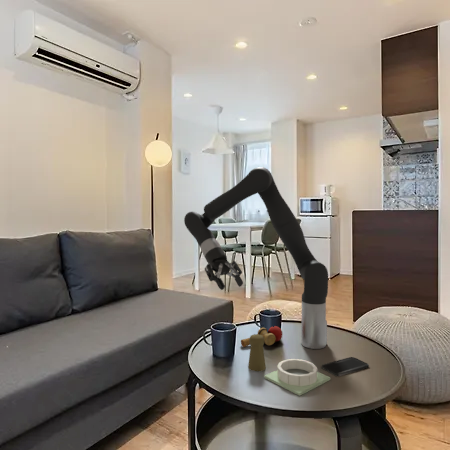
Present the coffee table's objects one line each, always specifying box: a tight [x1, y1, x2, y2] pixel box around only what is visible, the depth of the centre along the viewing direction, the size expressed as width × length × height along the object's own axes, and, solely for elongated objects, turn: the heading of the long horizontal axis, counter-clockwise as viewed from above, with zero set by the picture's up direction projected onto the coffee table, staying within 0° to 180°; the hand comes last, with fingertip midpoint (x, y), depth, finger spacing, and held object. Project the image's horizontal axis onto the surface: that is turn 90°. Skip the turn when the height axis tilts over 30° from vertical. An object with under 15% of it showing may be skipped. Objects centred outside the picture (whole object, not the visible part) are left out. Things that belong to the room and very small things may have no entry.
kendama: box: [240, 325, 283, 348], centre depth 141 cm, size 8×6×18 cm
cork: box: [247, 333, 267, 372], centre depth 120 cm, size 6×6×11 cm
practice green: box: [263, 358, 331, 396], centre depth 111 cm, size 15×14×4 cm
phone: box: [321, 356, 370, 377], centre depth 120 cm, size 8×1×15 cm
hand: (232, 286), depth 128 cm, fingers open, 8 cm apart
